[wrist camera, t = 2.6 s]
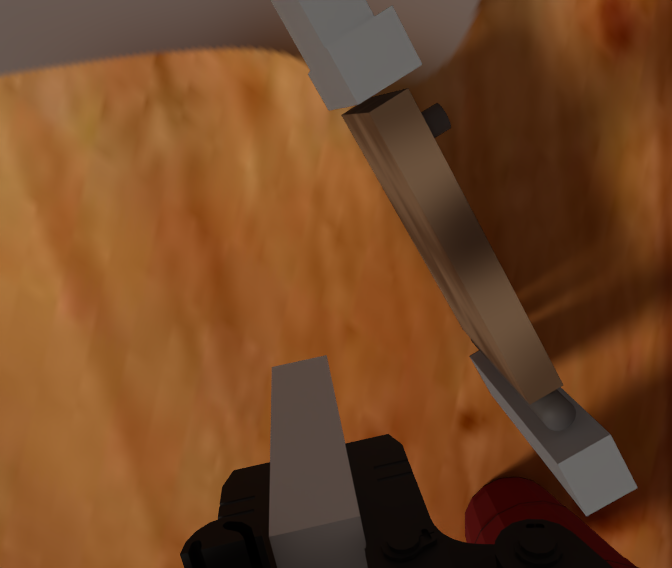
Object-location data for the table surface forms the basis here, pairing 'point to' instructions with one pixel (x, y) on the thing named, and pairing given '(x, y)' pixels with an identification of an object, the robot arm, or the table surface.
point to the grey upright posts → (552, 446)
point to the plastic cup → (527, 515)
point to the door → (455, 245)
